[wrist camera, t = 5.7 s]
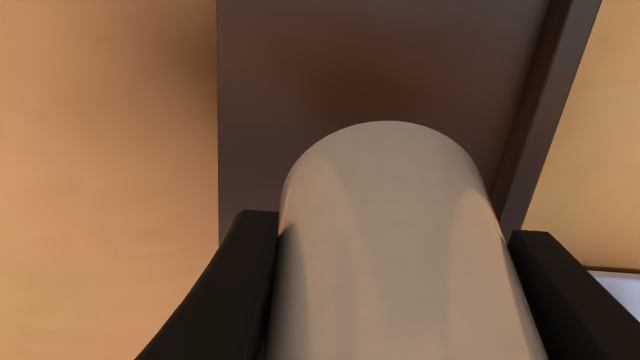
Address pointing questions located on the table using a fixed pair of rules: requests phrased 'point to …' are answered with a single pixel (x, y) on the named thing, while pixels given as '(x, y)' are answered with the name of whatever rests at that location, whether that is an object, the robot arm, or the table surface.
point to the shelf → (393, 85)
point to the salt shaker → (393, 255)
